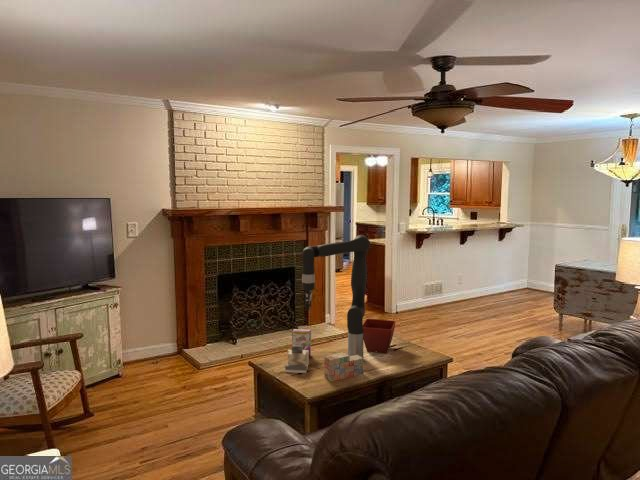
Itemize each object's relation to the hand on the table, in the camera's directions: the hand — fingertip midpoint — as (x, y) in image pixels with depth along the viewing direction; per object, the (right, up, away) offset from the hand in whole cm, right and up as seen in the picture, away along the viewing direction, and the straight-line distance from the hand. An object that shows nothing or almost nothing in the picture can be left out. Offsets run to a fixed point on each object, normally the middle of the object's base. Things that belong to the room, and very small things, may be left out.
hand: (308, 308), depth 273 cm
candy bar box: (-4, -31, +11) cm, 33 cm away
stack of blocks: (+20, -35, -17) cm, 44 cm away
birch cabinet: (-6, -32, -7) cm, 34 cm away
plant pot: (+44, -30, +23) cm, 58 cm away
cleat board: (-6, -33, -8) cm, 35 cm away
